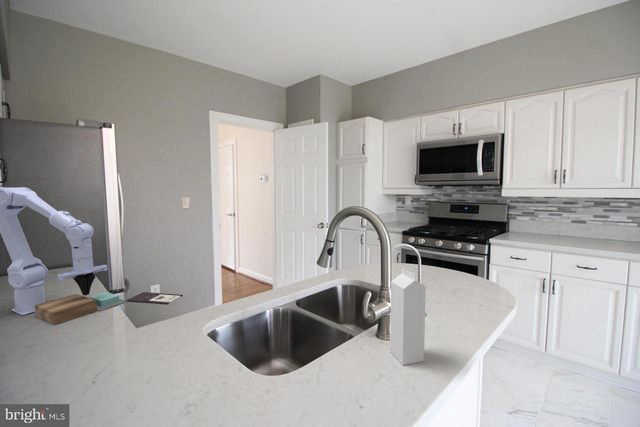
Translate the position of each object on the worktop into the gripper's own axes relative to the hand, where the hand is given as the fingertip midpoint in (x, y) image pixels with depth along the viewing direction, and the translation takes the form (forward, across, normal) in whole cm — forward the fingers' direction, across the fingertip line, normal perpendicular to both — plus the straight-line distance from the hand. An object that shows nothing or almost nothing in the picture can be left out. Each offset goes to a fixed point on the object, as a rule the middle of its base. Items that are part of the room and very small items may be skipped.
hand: (85, 294), depth 110 cm
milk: (+5, +21, -110) cm, 112 cm away
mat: (+5, +5, 0) cm, 7 cm away
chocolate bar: (+6, +17, -14) cm, 23 cm away
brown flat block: (+5, -6, 0) cm, 8 cm away
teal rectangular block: (+3, +6, 0) cm, 6 cm away
